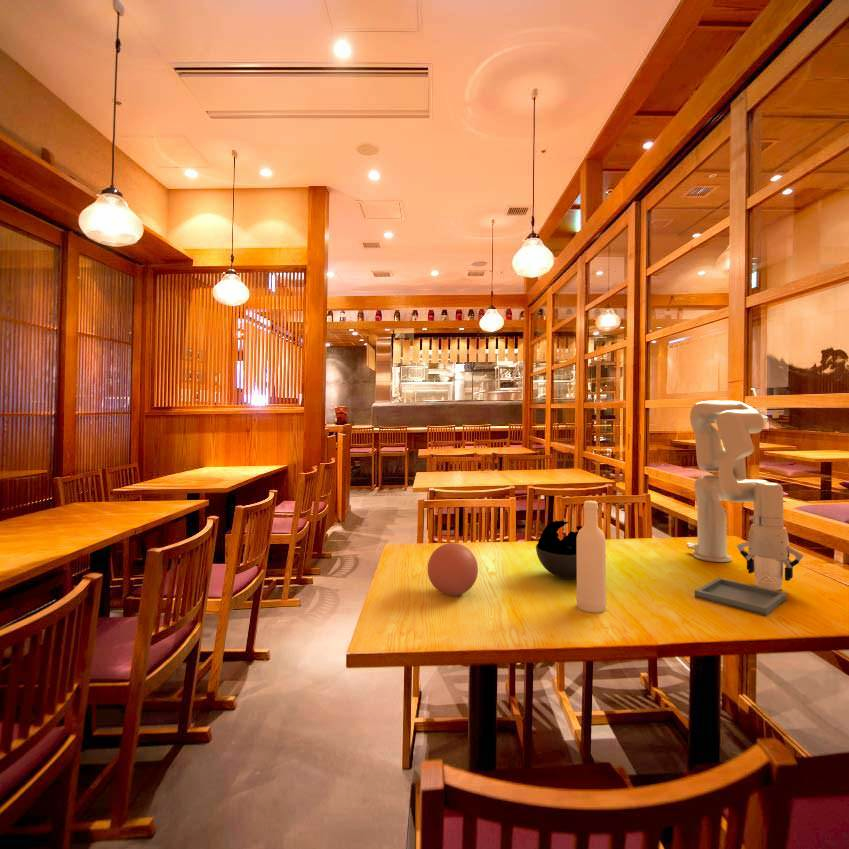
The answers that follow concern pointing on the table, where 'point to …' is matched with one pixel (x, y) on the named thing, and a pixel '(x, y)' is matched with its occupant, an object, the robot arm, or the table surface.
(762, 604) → the serving tray
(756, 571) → the white cup
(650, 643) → the table surface
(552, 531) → the bowl of black rocks
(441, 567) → the brown rubber ball
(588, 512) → the bottle
